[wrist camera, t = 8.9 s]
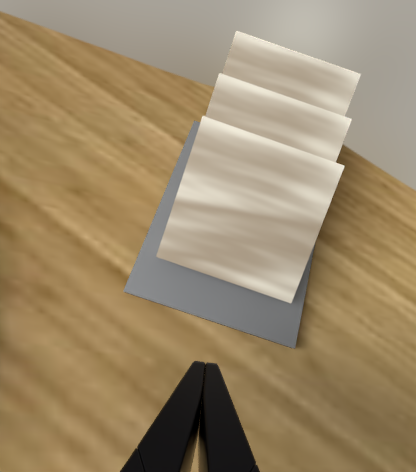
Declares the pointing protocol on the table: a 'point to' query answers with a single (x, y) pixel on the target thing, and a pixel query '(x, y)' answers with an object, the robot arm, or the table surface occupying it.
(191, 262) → the domino
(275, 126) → the domino
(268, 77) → the domino
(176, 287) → the board
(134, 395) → the table surface
